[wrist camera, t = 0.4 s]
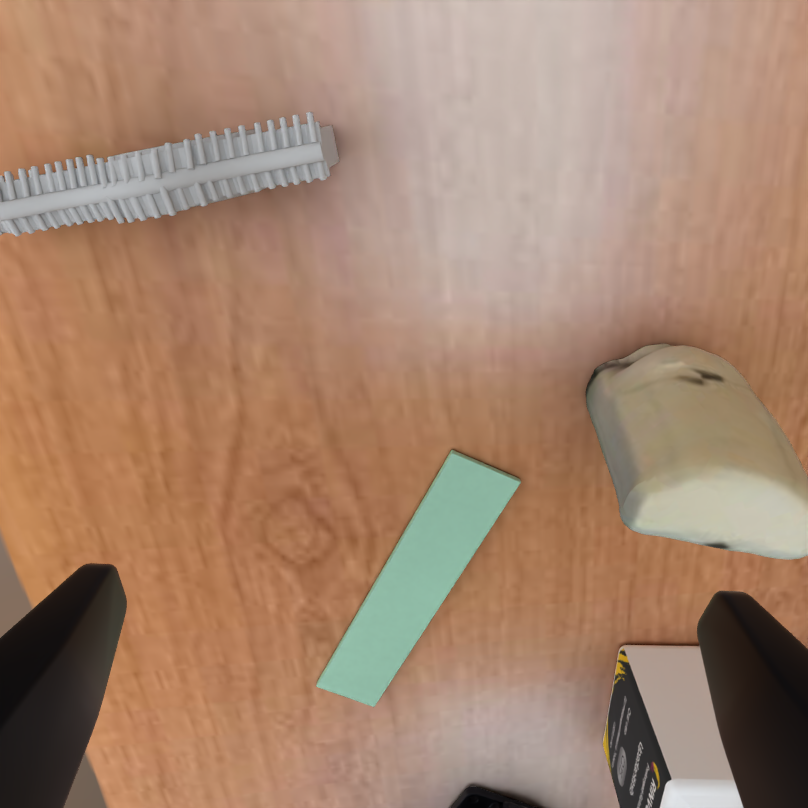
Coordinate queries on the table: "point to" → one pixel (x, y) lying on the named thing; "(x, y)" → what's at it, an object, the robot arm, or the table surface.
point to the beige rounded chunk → (698, 453)
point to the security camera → (665, 732)
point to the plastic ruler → (418, 576)
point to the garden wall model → (167, 177)
